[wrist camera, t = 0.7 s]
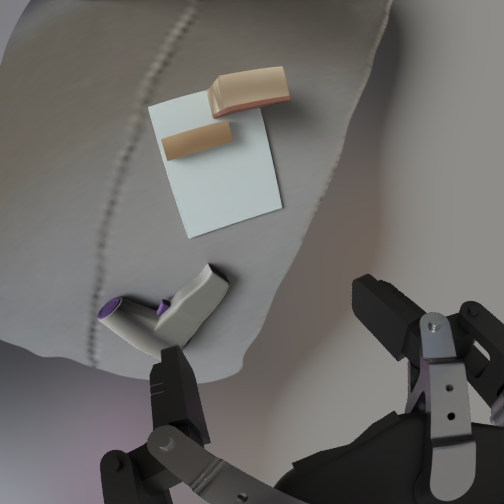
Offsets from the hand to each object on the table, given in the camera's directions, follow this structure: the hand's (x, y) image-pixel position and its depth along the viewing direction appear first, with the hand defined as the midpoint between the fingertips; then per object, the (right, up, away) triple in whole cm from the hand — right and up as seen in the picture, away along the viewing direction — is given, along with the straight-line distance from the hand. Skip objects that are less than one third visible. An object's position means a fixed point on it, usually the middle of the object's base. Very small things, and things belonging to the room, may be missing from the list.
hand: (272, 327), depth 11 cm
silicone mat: (-5, +14, +19) cm, 24 cm away
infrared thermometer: (-13, -2, +24) cm, 27 cm away
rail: (-7, +16, +17) cm, 24 cm away
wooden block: (-3, +20, +16) cm, 26 cm away
